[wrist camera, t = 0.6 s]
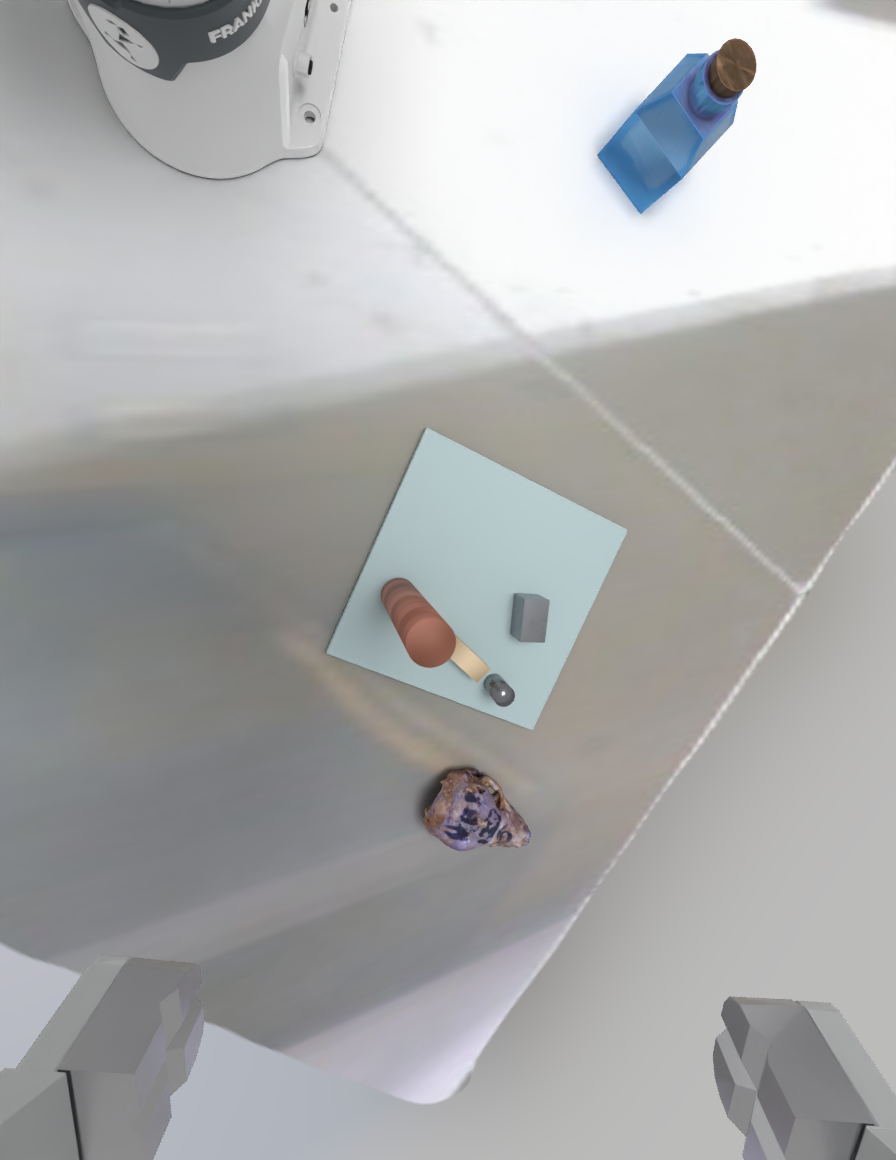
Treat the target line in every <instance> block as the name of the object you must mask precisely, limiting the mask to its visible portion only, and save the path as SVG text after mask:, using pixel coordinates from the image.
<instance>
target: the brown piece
mask: <svg viewBox="0 0 896 1160" xmlns="http://www.w3.org/2000/svg"><path fill="white" fill-rule="evenodd" d="M381 600H382V603H383V605H384V607H385V609H386V611H387V613H388V615H389V617H390V619H391V621H392V623H393V625H394V627H395V629H396V631H397V633H398V635H399V637H400V639H401V641H402V643H403V645H404V647H405V649H406V651H407V653H408V655H409V656H410V658H411V659H412V661H413V662H415V663H416V664H417V665H419V666H422V667H425V668H434V667H438V666H441V665H442V664H444V663H446V662H447V661H448V660H449V659H450V658H451V659H452V660H453V661H454V662H455V663H456V664H457V665H458V666H459V667H460V668H461V669H463V670H464V671H465V672H466V673H467V674H468V675H469V676H470V677H471V678H472V679H473V680H474V681H476V682H477V683H478V682H479V681H480V679H481V678H482V677H483V676H484V675H485V674H486V673H487V672H488V671H489V670H490V668H489V667H488V666H487V664H486V663H485V662H484V661H482V660H481V659H480V658H479V657H478V656H477V655H476V654H475V653H474V652H473V651H472V650H471V649H470V648H469V647H468V646H467V645H465V644H464V643H463V642H462V641H461V640H460V639H459V638H458V637H457V636H456V635H455V634H454V631H453V630H452V628H451V627H450V626H449V625H448V624H447V622H446V621H445V620H444V619H443V618H442V617H441V616H440V615H439V613H438V612H437V611H436V610H435V609H434V608H433V607H432V606H431V604H430V603H429V602H428V601H427V600H426V599H425V598H424V597H423V595H422V594H421V593H420V592H419V591H418V590H417V589H416V588H415V586H414V585H413V584H412V583H411V582H410V581H408V580H407V579H404V578H393V579H391V580H389V581H388V582H387V583H386V584H385V585H384V586H383V588H382V591H381Z"/></svg>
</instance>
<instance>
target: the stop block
mask: <svg viewBox="0 0 896 1160" xmlns="http://www.w3.org/2000/svg"><path fill="white" fill-rule="evenodd" d="M549 604H550V600H548V599H546V598H544V597H543V596H541V595H539V594H526V593H514V600H513V609H512V618H511V628H510V634H511V635H512V636H513V637H515V638H516V639H517V640H518V641H520V642H535V643H545V638H546V629H547V621H548V612H549Z"/></svg>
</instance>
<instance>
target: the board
mask: <svg viewBox="0 0 896 1160" xmlns="http://www.w3.org/2000/svg"><path fill="white" fill-rule="evenodd" d="M627 531H628V530H626V529H624V528H622V527H621V526H619V525H617V524H615V523H613V522H611V521H609V520H607V519H605V518H603V517H601V516H599V515H597V514H595V513H593V512H591V511H589V510H587V509H585V508H583V507H581V506H579V505H577V504H575V503H573V502H572V501H570V500H568V499H566V498H564V497H562V496H560V495H558V494H556V493H554V492H552V491H550V490H548V489H546V488H544V487H542V486H540V485H538V484H536V483H534V482H532V481H530V480H528V479H526V478H525V477H523V476H521V475H519V474H517V473H515V472H513V471H511V470H509V469H507V468H505V467H503V466H501V465H499V464H497V463H495V462H493V461H491V460H489V459H487V458H485V457H483V456H481V455H479V454H478V453H476V452H474V451H472V450H470V449H468V448H466V447H464V446H462V445H460V444H458V443H456V442H454V441H452V440H450V439H448V438H446V437H444V436H442V435H440V434H438V433H436V432H434V431H432V430H431V429H429V428H425V429H424V432H423V434H422V436H421V438H420V441H419V443H418V445H417V447H416V450H415V452H414V454H413V456H412V459H411V461H410V463H409V465H408V468H407V470H406V472H405V474H404V477H403V479H402V481H401V483H400V486H399V488H398V490H397V492H396V495H395V497H394V499H393V501H392V503H391V506H390V508H389V510H388V512H387V515H386V517H385V519H384V521H383V524H382V526H381V528H380V530H379V533H378V535H377V537H376V539H375V542H374V544H373V546H372V548H371V551H370V553H369V555H368V557H367V560H366V562H365V564H364V566H363V569H362V571H361V573H360V575H359V578H358V580H357V582H356V584H355V587H354V589H353V591H352V593H351V596H350V598H349V600H348V602H347V604H346V607H345V609H344V611H343V613H342V616H341V618H340V620H339V622H338V625H337V627H336V629H335V631H334V634H333V636H332V638H331V640H330V643H329V645H328V647H327V649H326V653H327V654H329V655H332V656H335V657H337V658H340V659H343V660H345V661H348V662H351V663H353V664H356V665H359V666H361V667H364V668H367V669H370V670H372V671H375V672H378V673H380V674H383V675H386V676H388V677H391V678H394V679H396V680H399V681H402V682H404V683H407V684H410V685H412V686H415V687H418V688H420V689H423V690H426V691H428V692H431V693H434V694H437V695H439V696H442V697H445V698H447V699H450V700H453V701H455V702H458V703H461V704H463V705H466V706H469V707H471V708H474V709H477V710H479V711H482V712H485V713H487V714H490V715H493V716H496V717H498V718H501V719H504V720H506V721H509V722H512V723H514V724H517V725H520V726H522V727H525V728H528V729H530V730H533V728H534V726H535V724H536V722H537V720H538V717H539V715H540V713H541V711H542V709H543V707H544V705H545V703H546V701H547V699H548V696H549V694H550V692H551V690H552V688H553V686H554V684H555V682H556V680H557V678H558V675H559V673H560V671H561V669H562V667H563V665H564V663H565V661H566V659H567V657H568V654H569V652H570V650H571V648H572V646H573V644H574V642H575V640H576V638H577V636H578V633H579V631H580V629H581V627H582V625H583V623H584V621H585V619H586V617H587V615H588V612H589V610H590V608H591V606H592V604H593V602H594V600H595V598H596V596H597V594H598V592H599V589H600V587H601V585H602V583H603V581H604V579H605V577H606V575H607V573H608V571H609V568H610V566H611V564H612V562H613V560H614V558H615V556H616V554H617V552H618V550H619V547H620V545H621V543H622V541H623V539H624V537H625V535H626V533H627ZM393 578H404V579H407V580H408V581H410V582H411V583H412V584H413V585H414V586H415V588H416V589H417V590H418V591H419V592H420V593H421V594H422V595H423V597H424V598H425V599H426V600H427V601H428V602H429V603H430V604H431V606H432V607H433V608H434V609H435V610H436V611H437V612H438V613H439V615H440V616H441V617H442V618H443V619H444V620H445V621H446V622H447V624H448V625H449V626H450V627H451V628H452V630H453V631H454V634H455V635H456V636H457V637H458V638H459V639H460V640H461V641H462V642H463V643H464V644H465V645H467V646H468V647H469V648H470V649H471V650H472V651H473V652H474V653H475V654H476V655H477V656H478V657H479V658H480V659H481V660H482V661H484V662H485V663H486V664H487V666H488V667H489V668H490V670H489V671H488V672H487V673H486V674H485V675H484V676H483V677H482V678H481V679H480V681H479V682H478V683H477V682H476V681H474V680H473V679H472V678H471V677H470V676H469V675H468V674H467V673H466V672H465V671H464V670H463V669H461V668H460V667H459V666H458V665H457V664H456V663H455V662H454V661H453V660H452V659H451V658H450V659H449V660H448V661H447V662H446V663H444V664H442V665H441V666H438V667H434V668H425V667H422V666H419V665H417V664H416V663H415V662H413V661H412V659H411V658H410V656H409V655H408V653H407V651H406V649H405V647H404V645H403V643H402V641H401V639H400V637H399V635H398V633H397V631H396V629H395V627H394V625H393V623H392V621H391V619H390V617H389V615H388V613H387V611H386V609H385V607H384V605H383V603H382V600H381V591H382V588H383V586H384V585H385V584H386V583H387V582H388V581H389V580H391V579H393ZM514 593H526V594H539V595H541V596H543V597H544V598H546V599H548V600H550V604H549V612H548V621H547V629H546V638H545V643H535V642H520V641H518V640H517V639H516V638H515V637H513V636H512V635H511V634H510V628H511V618H512V609H513V600H514ZM490 674H498V675H500V676H501V677H502V678H503V679H504V680H505V681H506V682H507V684H508V685H509V686H510V687H511V688H512V689H513V690H514V692H515V699H514V701H513V702H512V703H511V704H510V705H509V706H506V707H501V706H498V705H497V704H496V703H495V701H494V700H493V699H492V698H491V696H490V695H489V694H488V693H487V691H486V690H485V689H484V685H483V684H484V680H485V678H486V677H487V676H488V675H490Z"/></svg>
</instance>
